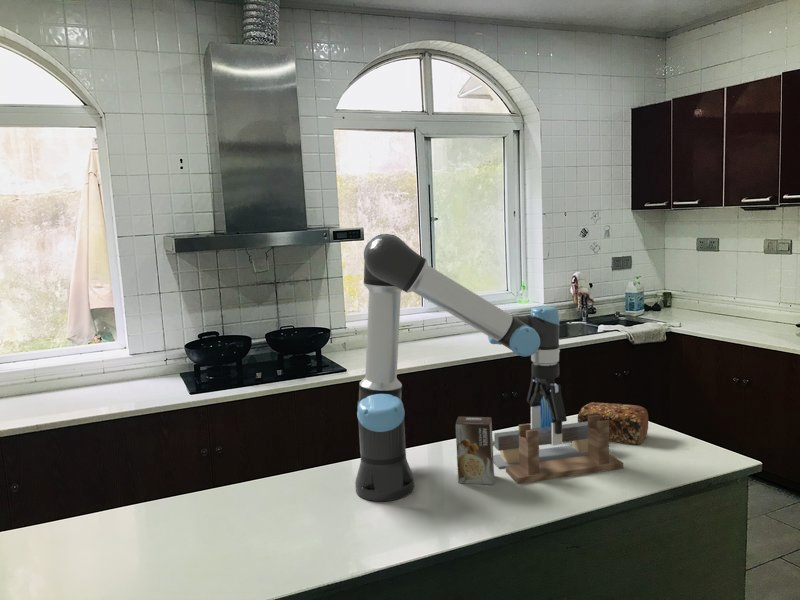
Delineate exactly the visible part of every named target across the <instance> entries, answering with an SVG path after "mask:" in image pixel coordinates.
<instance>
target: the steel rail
mask: <svg viewBox="0 0 800 600" xmlns="http://www.w3.org/2000/svg"><path fill="white" fill-rule="evenodd" d="M534 429H537V430H538V437H539V446H544V445H546V446H547V445H552V426H548V427H540V428H532V429H531V430H534ZM493 435H494V437H493V438H494V449H496V450H497V451H498V452H500V451H501V450H508V449H516V448H519V429H518V430H509V431H502V432H494V434H493ZM584 439H588V421H587V422H579V423H578V422H573V423H565V424H563V423H562V443H567V442H568V443H569V442H572V441H576V440H584Z"/></svg>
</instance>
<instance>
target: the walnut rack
mask: <svg viewBox="0 0 800 600" xmlns="http://www.w3.org/2000/svg"><path fill="white" fill-rule="evenodd" d="M518 430H519V465H512V466H506V468H505V473H506V474H508V476H510V478H511V479H513V482H514V481H515V483H517V484H524V483H532V482H538V481H545V480H551V479H552V480H553V479H558V478H567V477H572V476H579V475H585V474H586V475H587V474H592V473H593V474H594V473H599V472H607V471H615V470H620V469H624V462H623V461H621V460H620V459H619V458H617V457H615V456H614V455H613V454H611V453H610V441H609V421H608V420H604V421H600V416H599V415H592V416H588V455H584V456H576V457H569V458H562V459H555V460H548V461H540V462H539V448H540V447H539V446H540V445H539V437H538V430H537V429H534V430H531V423H522V424H518Z"/></svg>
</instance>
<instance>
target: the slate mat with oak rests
mask: <svg viewBox="0 0 800 600" xmlns="http://www.w3.org/2000/svg"><path fill="white" fill-rule="evenodd" d="M499 453H500V454H496V455H494V454H493V461H494V465H495V466H496V467H497V469H504V468H505V469H506V466H512V465H519V448H516V449H508V450H501V451H499ZM584 455H588V439H584V440H576V441H571V444H570V445H562V446H561V445H560V446H555V447H548V448H540V449H539V462H540V461H548V460H555V459H562V458H569V457H576V456H584Z"/></svg>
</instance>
